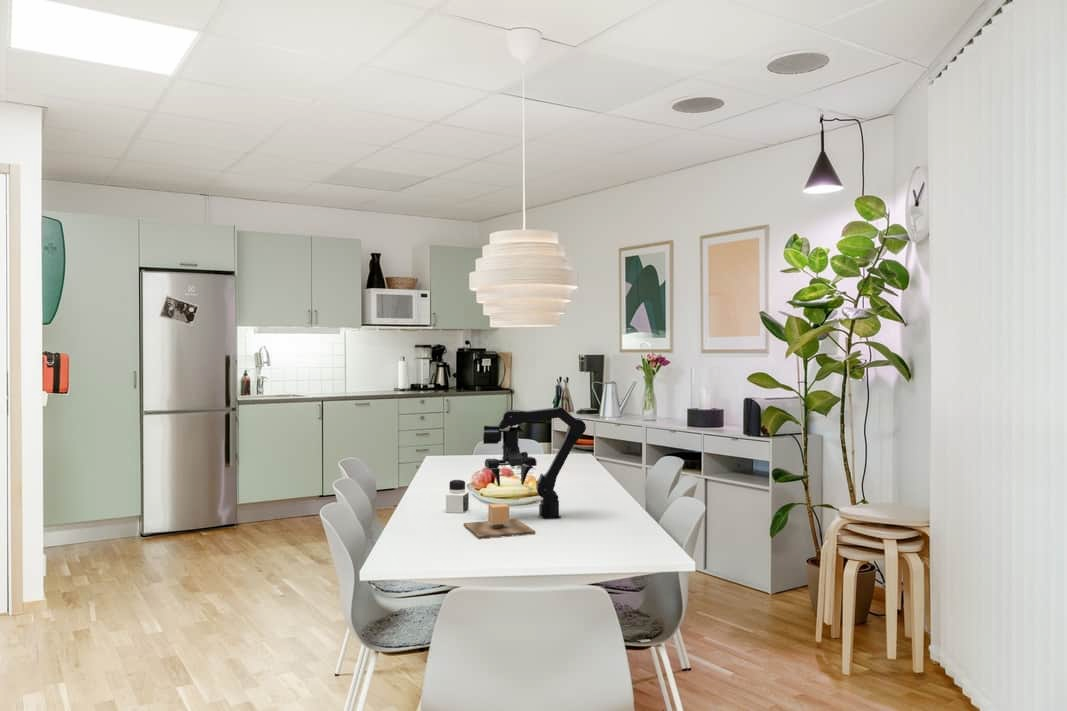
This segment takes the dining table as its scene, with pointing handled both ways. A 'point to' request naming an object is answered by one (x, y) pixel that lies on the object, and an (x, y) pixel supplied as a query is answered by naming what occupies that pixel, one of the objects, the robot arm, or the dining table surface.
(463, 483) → the medicine bottle
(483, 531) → the wooden base with peg
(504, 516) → the peach wooden cube
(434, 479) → the dining table surface
